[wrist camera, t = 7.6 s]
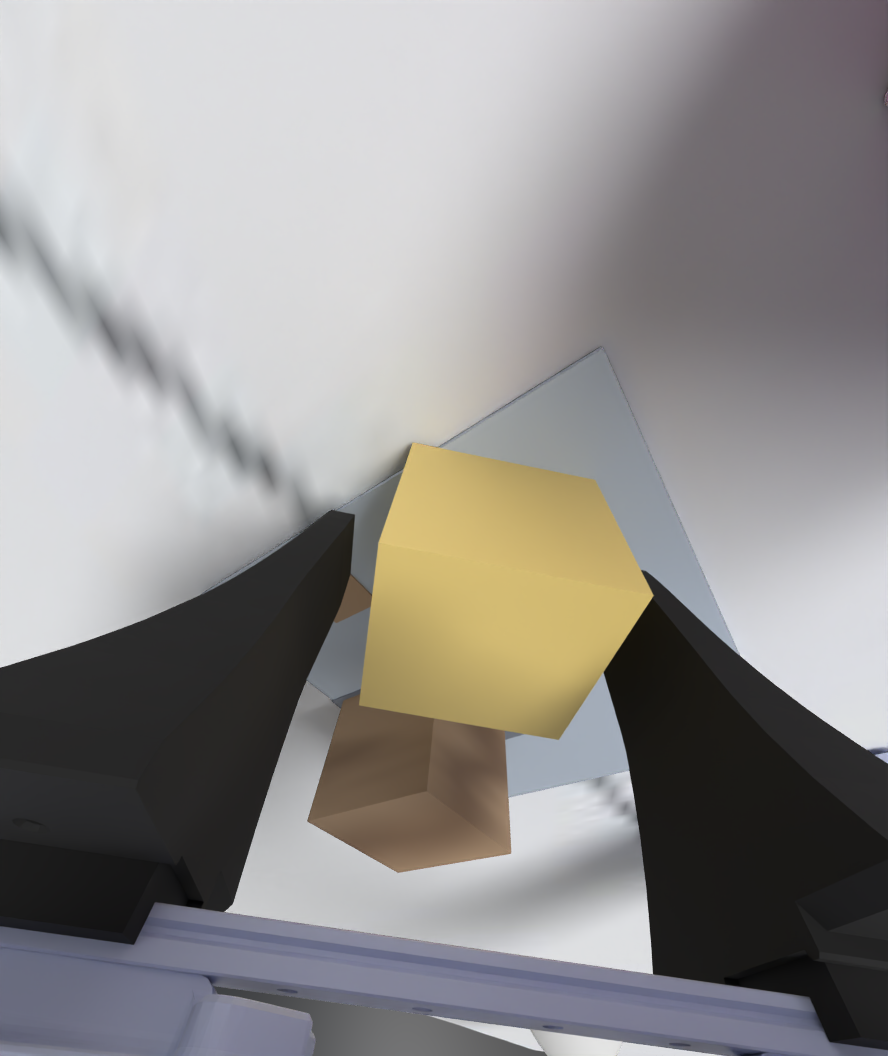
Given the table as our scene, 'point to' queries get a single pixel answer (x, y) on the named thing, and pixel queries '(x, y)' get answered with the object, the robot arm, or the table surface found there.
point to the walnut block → (414, 788)
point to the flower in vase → (575, 1044)
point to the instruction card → (636, 503)
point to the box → (886, 98)
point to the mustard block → (496, 594)
